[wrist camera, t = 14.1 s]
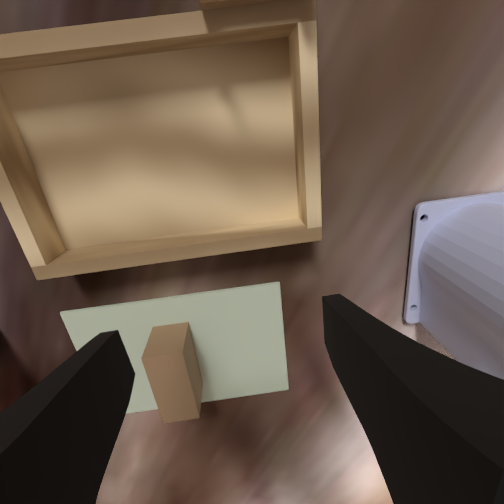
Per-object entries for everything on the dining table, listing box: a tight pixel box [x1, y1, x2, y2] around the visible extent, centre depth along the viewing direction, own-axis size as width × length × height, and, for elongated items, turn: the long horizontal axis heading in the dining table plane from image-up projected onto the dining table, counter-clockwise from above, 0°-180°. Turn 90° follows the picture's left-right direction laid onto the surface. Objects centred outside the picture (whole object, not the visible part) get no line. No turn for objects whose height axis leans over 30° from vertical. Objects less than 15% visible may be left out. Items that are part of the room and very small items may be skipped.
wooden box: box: [0, 0, 322, 280], centre depth 16 cm, size 11×16×3 cm
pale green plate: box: [60, 282, 289, 424], centre depth 22 cm, size 10×15×4 cm
